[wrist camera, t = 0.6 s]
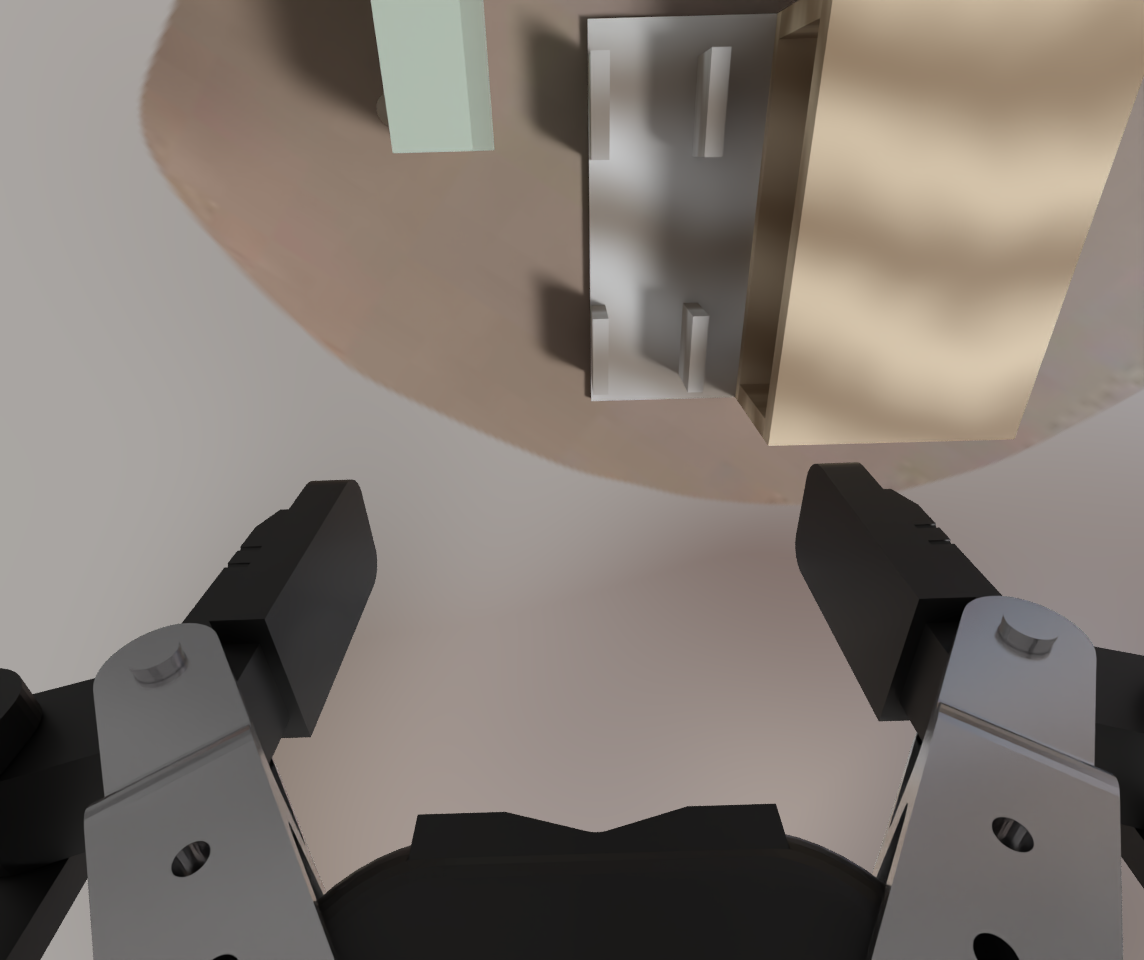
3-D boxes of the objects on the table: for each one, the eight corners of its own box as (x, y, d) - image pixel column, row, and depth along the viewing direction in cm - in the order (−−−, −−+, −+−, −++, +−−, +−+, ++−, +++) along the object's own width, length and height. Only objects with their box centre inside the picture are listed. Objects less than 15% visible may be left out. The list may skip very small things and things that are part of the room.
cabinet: (587, 20, 27) (593, -17, 21) (1043, 7, 27) (1182, -34, 21) (591, 398, 36) (596, 450, 30) (937, 389, 36) (1014, 439, 30)
